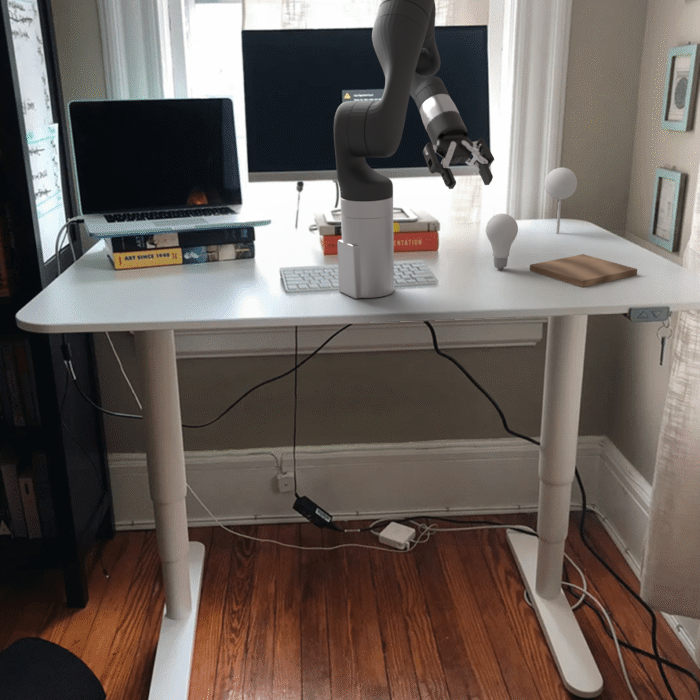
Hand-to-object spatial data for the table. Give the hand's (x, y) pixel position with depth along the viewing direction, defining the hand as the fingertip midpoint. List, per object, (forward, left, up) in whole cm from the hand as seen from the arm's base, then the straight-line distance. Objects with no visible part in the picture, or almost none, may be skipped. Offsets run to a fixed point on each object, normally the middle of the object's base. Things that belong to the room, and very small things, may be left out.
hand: (471, 184), depth 161 cm
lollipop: (+30, +6, -15) cm, 34 cm away
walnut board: (+10, -22, -15) cm, 29 cm away
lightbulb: (-1, -11, -15) cm, 19 cm away
